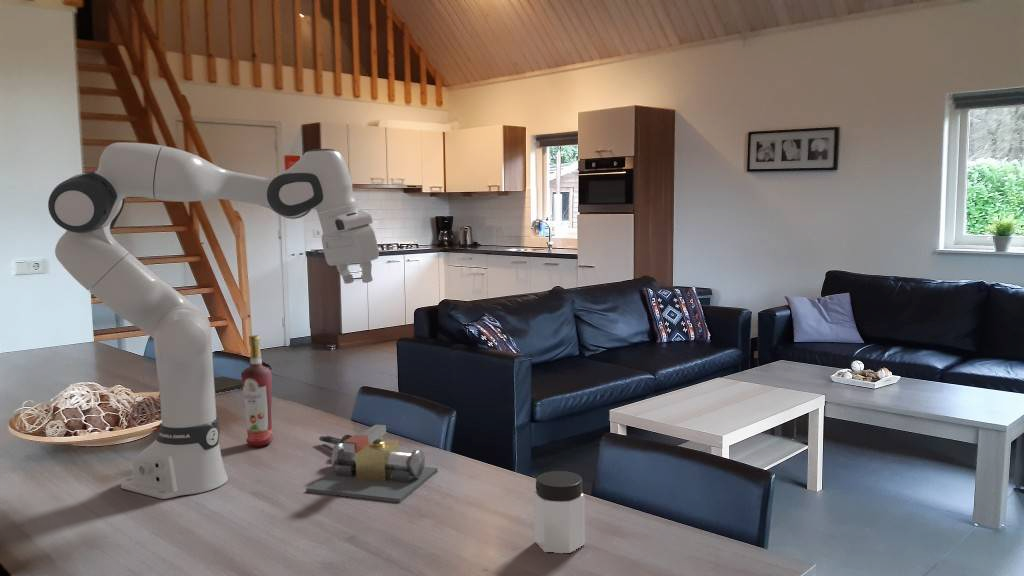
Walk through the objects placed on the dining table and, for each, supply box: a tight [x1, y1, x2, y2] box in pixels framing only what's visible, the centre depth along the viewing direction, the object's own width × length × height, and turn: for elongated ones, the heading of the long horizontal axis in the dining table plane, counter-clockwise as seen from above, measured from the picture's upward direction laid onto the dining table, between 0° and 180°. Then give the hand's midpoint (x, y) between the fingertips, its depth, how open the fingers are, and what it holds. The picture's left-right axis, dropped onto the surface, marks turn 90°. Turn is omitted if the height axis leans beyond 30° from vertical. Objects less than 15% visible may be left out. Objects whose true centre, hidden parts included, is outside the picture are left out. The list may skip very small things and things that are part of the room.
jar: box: [533, 470, 586, 554], centre depth 137 cm, size 9×8×12 cm
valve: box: [318, 434, 353, 446], centre depth 189 cm, size 6×26×15 cm
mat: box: [305, 466, 439, 503], centre depth 170 cm, size 22×19×1 cm
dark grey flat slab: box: [214, 376, 243, 393], centre depth 256 cm, size 16×23×2 cm
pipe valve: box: [330, 438, 426, 483], centre depth 171 cm, size 20×7×8 cm, turn 72°
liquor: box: [240, 334, 275, 448], centre depth 196 cm, size 7×7×28 cm
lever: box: [343, 424, 387, 453], centre depth 166 cm, size 14×3×3 cm, turn 162°
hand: (358, 282), depth 171 cm, fingers open, 8 cm apart
